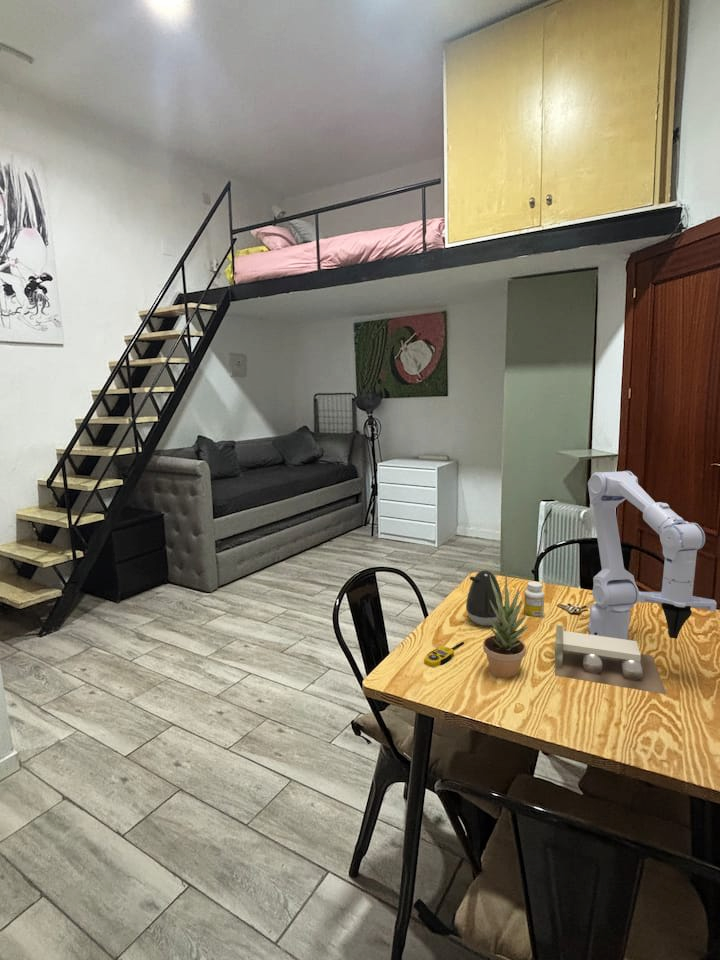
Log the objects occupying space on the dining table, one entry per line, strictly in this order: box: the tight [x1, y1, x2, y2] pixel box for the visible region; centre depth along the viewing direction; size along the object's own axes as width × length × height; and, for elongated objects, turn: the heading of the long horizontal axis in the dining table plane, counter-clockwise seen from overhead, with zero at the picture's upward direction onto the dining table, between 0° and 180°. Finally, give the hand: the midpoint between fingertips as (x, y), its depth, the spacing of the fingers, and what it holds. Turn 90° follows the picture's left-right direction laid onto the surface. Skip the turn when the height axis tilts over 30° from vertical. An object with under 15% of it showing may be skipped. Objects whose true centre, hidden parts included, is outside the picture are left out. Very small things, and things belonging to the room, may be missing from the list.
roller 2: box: [620, 659, 643, 680], centre depth 118 cm, size 4×10×4 cm
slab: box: [563, 630, 642, 662], centre depth 120 cm, size 16×7×2 cm, turn 69°
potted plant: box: [482, 574, 529, 679], centre depth 117 cm, size 10×10×25 cm
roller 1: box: [582, 653, 603, 674], centre depth 121 cm, size 4×10×4 cm
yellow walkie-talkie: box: [423, 641, 465, 668], centre depth 128 cm, size 5×2×15 cm
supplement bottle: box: [523, 580, 545, 619], centre depth 148 cm, size 5×5×10 cm
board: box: [554, 624, 667, 695], centre depth 119 cm, size 22×17×7 cm
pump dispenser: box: [465, 569, 504, 627], centre depth 144 cm, size 10×10×15 cm
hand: (672, 636), depth 114 cm, fingers closed
